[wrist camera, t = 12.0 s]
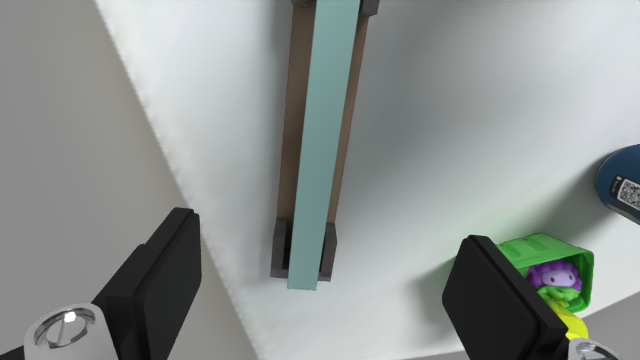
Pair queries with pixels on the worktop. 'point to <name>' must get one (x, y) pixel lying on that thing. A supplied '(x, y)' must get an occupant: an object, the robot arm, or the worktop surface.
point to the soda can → (621, 182)
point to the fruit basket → (555, 275)
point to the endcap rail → (293, 134)
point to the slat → (321, 135)
